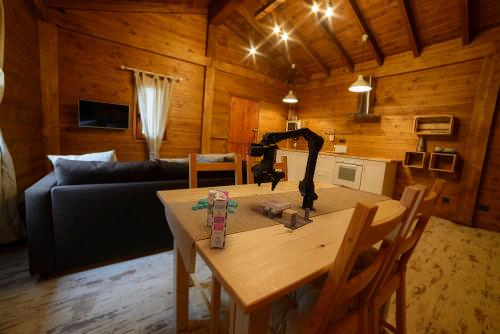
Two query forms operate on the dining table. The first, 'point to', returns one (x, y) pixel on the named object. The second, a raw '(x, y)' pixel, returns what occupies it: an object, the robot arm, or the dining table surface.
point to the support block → (288, 214)
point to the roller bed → (278, 218)
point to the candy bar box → (219, 220)
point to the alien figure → (204, 204)
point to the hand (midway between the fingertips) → (265, 188)
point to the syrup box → (211, 205)
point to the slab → (277, 204)
